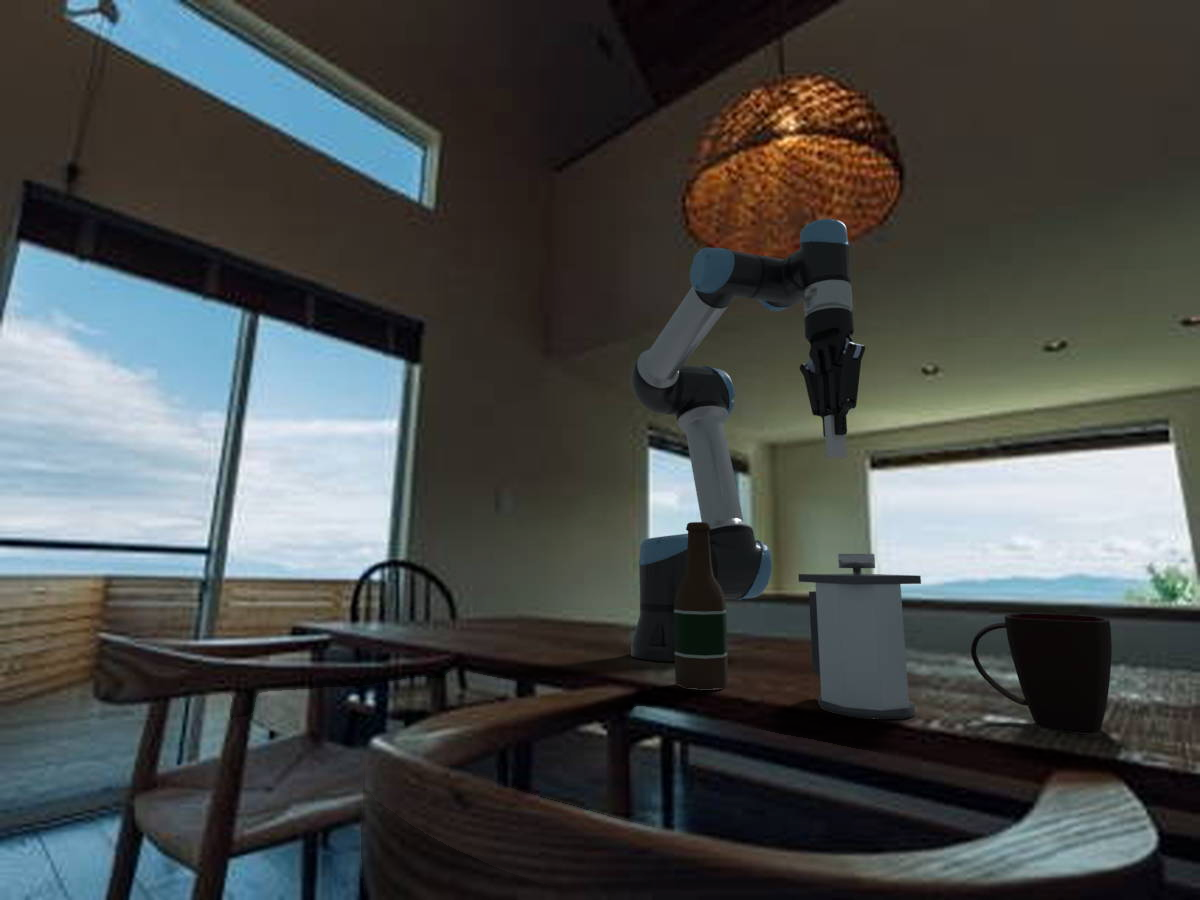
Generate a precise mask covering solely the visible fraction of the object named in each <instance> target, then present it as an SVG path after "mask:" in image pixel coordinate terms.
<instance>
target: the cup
mask: <svg viewBox="0 0 1200 900" xmlns="http://www.w3.org/2000/svg"><path fill="white" fill-rule="evenodd" d="M999 629H1006V630H1005V631H1006V635H1007V636H1006V637H1007V641H1008V646H1009V650H1010V653H1011V658H1012V662H1013V666H1014V669H1015V671H1016V676H1017V679H1018V681H1019V685H1020V689H1021V691H1022V695H1023V697H1024V699H1023V698H1021V697H1018V696H1017V695H1014V694H1013V693H1011V692H1010V691H1008V690H1007V689H1005V688H1004V687H1002V686H1001V685H1000V683H998V682H996V681H995V680H994V679H993V677H991V676H990V675H989V674H988V673H987V671H986V670H985V669H984V667H983V666H982V664H981V662H980V659H979V657H978V655H977V648H978V644H979V641H980V639H981V638H982V637H983V636H985V635H986V634H987V633H989V632H992V631H994V630H999ZM1112 645H1113V644H1112V627H1111V621H1110V619H1109V618H1106V617H1103V616H1102V617H1100V616H1092V615H1078V614H1077V615H1075V614H1057V613H1056V614H1055V613H1054V614H1053V613H1026V612H1025V613H1023V612H1022V613H1021V612H1018V613H1017V612H1016V613H1009V614H1008V613H1007V614H1005V615H1004V622H997V623H991V624H990V625H988V626H985V627H983V628H982V629H980V630H979V631H978V632H976V634H975V636H974V637H973V638H972V643H971V647H970V654H971V659H972V661H973V663H974V666H975V667H976V669H977V671H978V673H979V674H980V675H981V676H982V678H983V679H984V680H985V681H986V682H987V683H988V684H989V685H990V686H991V687H992V688H993V689H994V690H996V691H998V692H999V693H1000V694H1001V695H1003V696H1004V697H1006V698H1007V699H1009V700H1010V701H1012V702H1014V703H1016V704H1018V705H1021V706H1027V708H1028V709H1029V710H1028V711H1029V712H1030V714H1031V717H1032V720H1033V721H1034V723H1035V724H1036V725H1037V726H1038V727H1039V728H1041V729H1046V730H1052V731H1058V732H1065V733H1074V734H1084V735H1094V734H1095V735H1096V734H1097V733H1099V732H1100V731H1101V729H1102V726H1103V723H1104V718H1105V714H1106V710H1107V705H1108V698H1109V690H1110V689H1109V687H1110V680H1111V669H1112V657H1113V655H1112V654H1113V653H1112V651H1113V647H1112Z"/></svg>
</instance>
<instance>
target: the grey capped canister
mask: <svg viewBox="0 0 1200 900" xmlns="http://www.w3.org/2000/svg"><path fill="white" fill-rule="evenodd" d="M921 578H922V576H921V575H915V574H913V575H912V574H911V575H909V574H882V573H881V574H878V573H876V574H875V573H861V575H853V573H802V574H801V573H798V583H800V582H801V583H814V584H815V591H814V590H813V591H810V590H809V591H808V599H809V600H808V601H809V617H810V643H811V661H812V663H811V665H812V674H814V675H815V674H816V675H819V676H820V677H819V678H820V695H818V696H817V701H818V703H817V704H819V706H820V707H822V708H824V709H826V710H828V711H831V712H834V713H837V714H840V715H839V716H841V715H844V716H843V717H846V716H848V718H852V717H856V718H855V719H860V718H863V719H862V720H871V718H875V719H877V718H878V719H898V720H903V719H902V718H906V719H909V718H908V717H910V718H912V716H913V717H914V716H915V715H916V707H915V705H916V704H915V703H914V702H913V701H911V700H910V698H909V685H908V684H909V683H908V682H909V681H908V670H907V668H908V667H907V656H906V642H905V631H904V630H905V629H904V628H905V627H904V626H905V625H904V616H903V601H902V589H901V587H902V586H901V585H918V584H919V585H922V579H921ZM819 706H818V707H819ZM868 718H870V719H868Z"/></svg>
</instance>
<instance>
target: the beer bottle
mask: <svg viewBox="0 0 1200 900" xmlns="http://www.w3.org/2000/svg"><path fill="white" fill-rule="evenodd" d="M710 530H711V528H710V525H709V523H706V522H702V521H692V522H688V523H687V524H686V528H685V531H687V534H688V546H687V567H686V573H685V577H684V578H683V580H682V582H681V583H680V585H679V586H678V589H677V592H676V595H675V604H674V633H675V662H674V672H675V673H674V675H675V684H676V685H677V684H678V685H681V686H683V687H685V688H697V689H713V688H723V687H725V686H726V685H728V679H729V678H728V677H729V675H728V674H729V673H728V672H729V671H728V668H729V667H728V664H729V663H728V635H727V631H728V630H727V608H726V607H727V606H726V599H725V597H724V594H723V591H722V588H721V586H720V585H719V583H718V582H717V580H716V579H715V577H714V575H713V570H712V563H711V551H710V540H709V531H710ZM726 687H727V686H726ZM726 687H725V688H726Z"/></svg>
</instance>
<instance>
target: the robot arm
mask: <svg viewBox="0 0 1200 900" xmlns="http://www.w3.org/2000/svg"><path fill="white" fill-rule="evenodd" d="M847 231H848V230H847V226H846V225H845V224H844V223H843V222H842V221H840V220H838V219H833V218H823V219H818V220H815V221H812V222H809V223H808V224H806V225H805V226H804V227H803V228H802V229H801V231H800V235H799V245H800V246H799V249H798V250H796V251H795V252H794V253H792V254H791V255H790V256H788V257H786V258H785V259H784V258H783V259H782V258H777V257H771V256H766V255H759V254H753V253H747V252H742V251H737V250H731V249H729V248H728V249H727V248H723V247H720V248H719V247H703V248H701V249H700V250H699V251H697V252H696V254H695V255H694V257H693V261H692V264H691V266H690V271H689V281H690V285H691V288H690V289H689V291H688V292H687V294H686V295H685V296H684V298H683V300H682V301H681V303H680V304H679V306H678V307H677V308H676V310H675V311H674V313H673V315H672V316H671V317H670V319H669V321H668V322H666V325H665V326H664V328H663V329H662V331H661V332H660V333H659V335H658V337H657V338H656V340H655V341H654V343H653V345H652V346H651V347H650V348H649V349H646V350H644V351H643V352H642V353H640V355H639V357H638V358H637V360H636V361H635V363H634V365H633V368H632V372H631V387H632V391H633V393H634V395H635V397H636V399H637V400H638V402H639V403H640V404H641V405H642V406H644V407H645V408H646V409H647V410H649V411H651V412H653V413H655V414H660V415H673V416H676V417H675V418H676V421H677V426H678V428H679V429H680V430H681V431H683V432H685V436H686V441H687V442H686V443H687V446H688V451H689V452H688V453H689V458H690V459H689V460H690V463H691V468H692V475H693V482H694V486H695V493H696V498H697V504H698V508H699V515H700V520H701V521H700V522H706V523H709V525H710V528H711V530H710V531H709V540H710V551H711V563H712V570H713V575H714V577H715V579H716V580H717V582H718V583H719V585H720V586H721V588H722V591H723V594H724V597H725V600H738V601H739V600H740V601H741V600H743V599H753V598H754V599H755V598H756V597H759V596H760V595H761V594H763V593H764V592H765V590H766V588H767V587H768V584H769V583H770V582H769V581H770V579H771V576H772V569H773V560H772V559H773V558H772V555H771V553H772V552H771V551H770V547H768V546H767V545H766V543H765V542H764V541H762V540H759V539H756V538H755V533H754V529H753V527H752V526H751V525H749V524H748V523H746V522H745V521H744V518H743V512H742V506H741V503H740V498H739V497H740V496H739V493H738V487H737V483H736V478H735V475H734V474H735V473H734V468H733V463H732V459H731V454H730V450H729V449H730V448H729V445H728V441H727V440H728V439H727V434H726V431H725V430H726V429H725V423H726V422H727V421H728V420H729V416H730V414H731V413H732V411H733V409H734V406H735V401H734V399H735V396H736V395H735V392H736V391H735V387H734V383H733V381H732V379H731V377H730V375H729V374H728V373H727V372H726V371H724V370H722V369H720V368H715V367H711V366H707V365H705V366H697V365H689V364H688V365H687V364H685V363H686V361H687V360H688V359H689V358H690V357H691V355H692V354H693V352H694V351H695V350H696V348H698V346H699V344H701V342H702V341H703V339H705V337H706V336H707V334H708V333H709V331H710V330H711V329H712V328H713V327H714V325H715V324H716V322H717V321H718V320H719V319H720V318H721V316H722V314H724V312H725V310H727V308H728V307H729V306H730V304H732V302H733V301H734V299H736V298H743V299H744V298H745V299H751V300H757V301H758V302H759V303H760V305H761V306H762V307H765V308H766V309H767V310H769V311H771V312H780V311H784V310H786V309H789V308H790V307H793V306H794V305H797V304H798V303H799V302H800V301H801V300H803V313H804V316H805V318H804V319H803V320H804V321H803V323H804V336H805V339H806V340H807V342H808V343H809V344H810V348H809V352H808V353H809V354H808V356H809V359H808V360H807V362H806V363H801V364H800V366H799V370H800V372H801V374H802V376H803V379H804V382H805V386H806V391H807V396H808V402H809V406H810V409H811V413H812V416H817V417H821V419H822V433H823V437H824V438H825V454H826V455H825V457H826V458H837V459H842V458H846V457H847V440H846V435H847V432H848V423H847V421H848V419H847V415H848V414H849V411H850V410H853V409H855V408H857V404H858V403H857V402H858V393H859V383H860V374H861V366H862V365H861V364H862V359H863V356H864V354H865V351H866V346H865V344H859V343H855V342H853V338H852V336H853V335H854V332H855V325H854V314H853V311H852V310H854V306H853V305H854V303H853V293H852V283H851V282H852V280H851V279H852V278H851V264H850V263H851V260H850V246H851V245H850V243H849V237H848V232H847ZM687 546H688V533H682V534H671V535H664V536H656V537H651V538H646V539H644V540H643V541H642V542H641V543H640V546H639V559H638V565H639V617H638V620H637V624H636V627H635V631H634V634H633V636H632V639H631V640H632V641H631V644H630V655H631V657H633V658H635V659H639V660H645V661H653V662H672V663H673V662H674V663H675V633H674V604H675V595H676V592H677V589H678V586H679V585H680V583H681V582H682V580H683V578H684V577H685V573H686V567H687Z"/></svg>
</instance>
